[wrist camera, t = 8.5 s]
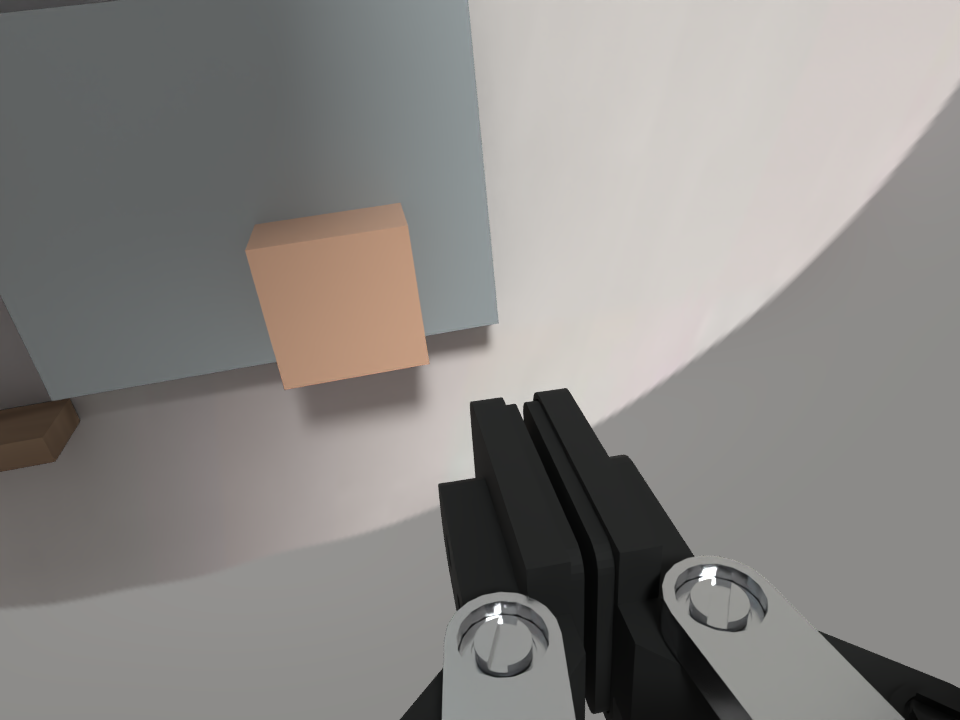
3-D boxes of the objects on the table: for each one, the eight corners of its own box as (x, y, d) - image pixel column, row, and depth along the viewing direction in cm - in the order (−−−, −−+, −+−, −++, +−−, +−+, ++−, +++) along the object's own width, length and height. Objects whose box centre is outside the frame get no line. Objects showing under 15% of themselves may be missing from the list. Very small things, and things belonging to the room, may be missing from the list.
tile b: (254, 224, 20) (245, 250, 18) (400, 202, 21) (407, 225, 19) (289, 352, 23) (284, 390, 20) (420, 330, 23) (429, 363, 21)
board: (-86, 25, 18) (-131, 27, 16) (453, -34, 20) (464, -38, 18) (73, 371, 24) (52, 400, 22) (487, 301, 25) (498, 323, 24)
